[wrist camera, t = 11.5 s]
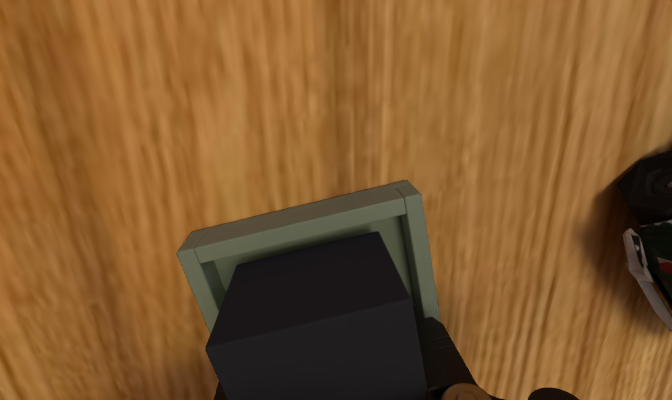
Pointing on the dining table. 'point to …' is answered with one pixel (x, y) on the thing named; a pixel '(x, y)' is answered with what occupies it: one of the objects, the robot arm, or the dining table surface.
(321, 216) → the backing tray
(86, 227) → the dining table surface
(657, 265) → the miniature car
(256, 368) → the pad
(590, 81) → the dining table surface
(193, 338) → the dining table surface
